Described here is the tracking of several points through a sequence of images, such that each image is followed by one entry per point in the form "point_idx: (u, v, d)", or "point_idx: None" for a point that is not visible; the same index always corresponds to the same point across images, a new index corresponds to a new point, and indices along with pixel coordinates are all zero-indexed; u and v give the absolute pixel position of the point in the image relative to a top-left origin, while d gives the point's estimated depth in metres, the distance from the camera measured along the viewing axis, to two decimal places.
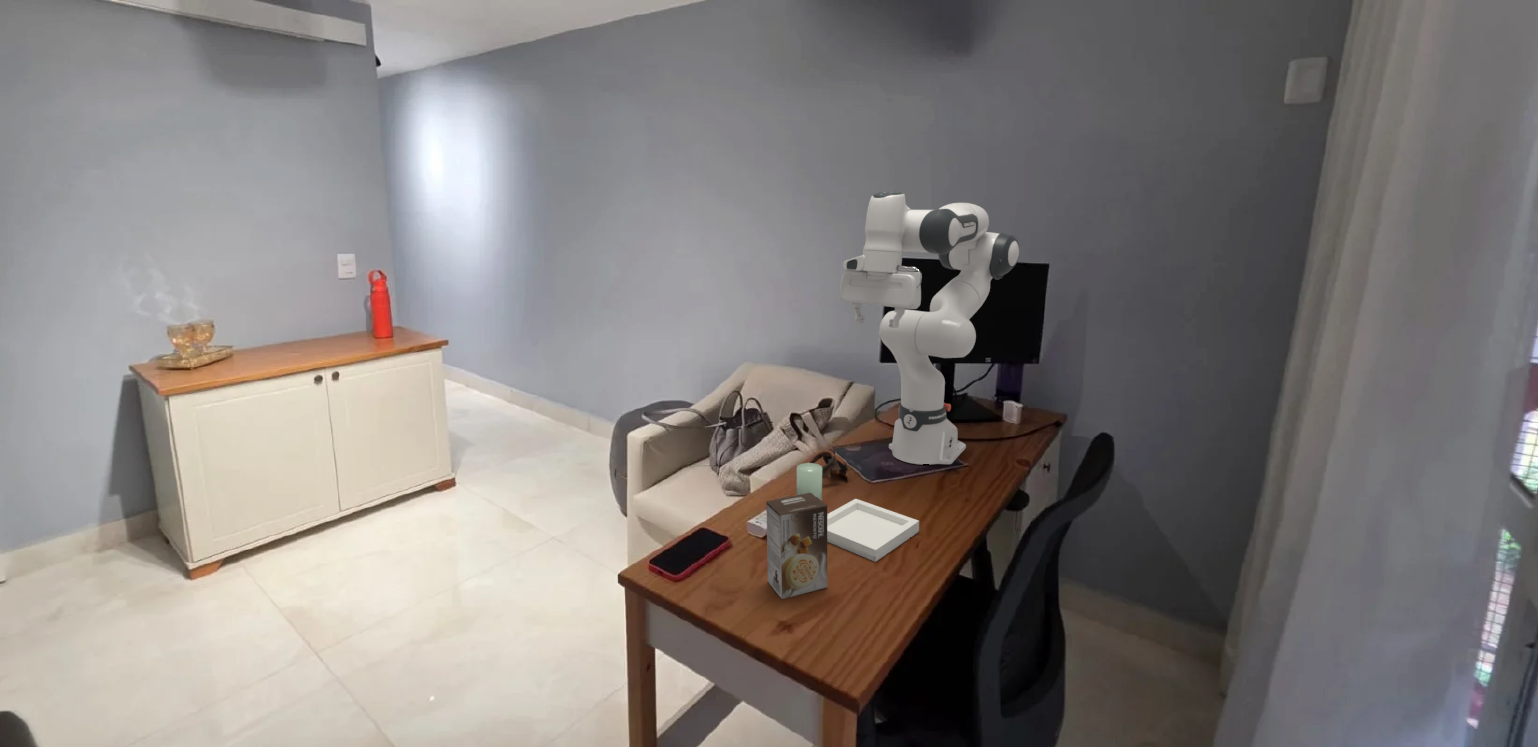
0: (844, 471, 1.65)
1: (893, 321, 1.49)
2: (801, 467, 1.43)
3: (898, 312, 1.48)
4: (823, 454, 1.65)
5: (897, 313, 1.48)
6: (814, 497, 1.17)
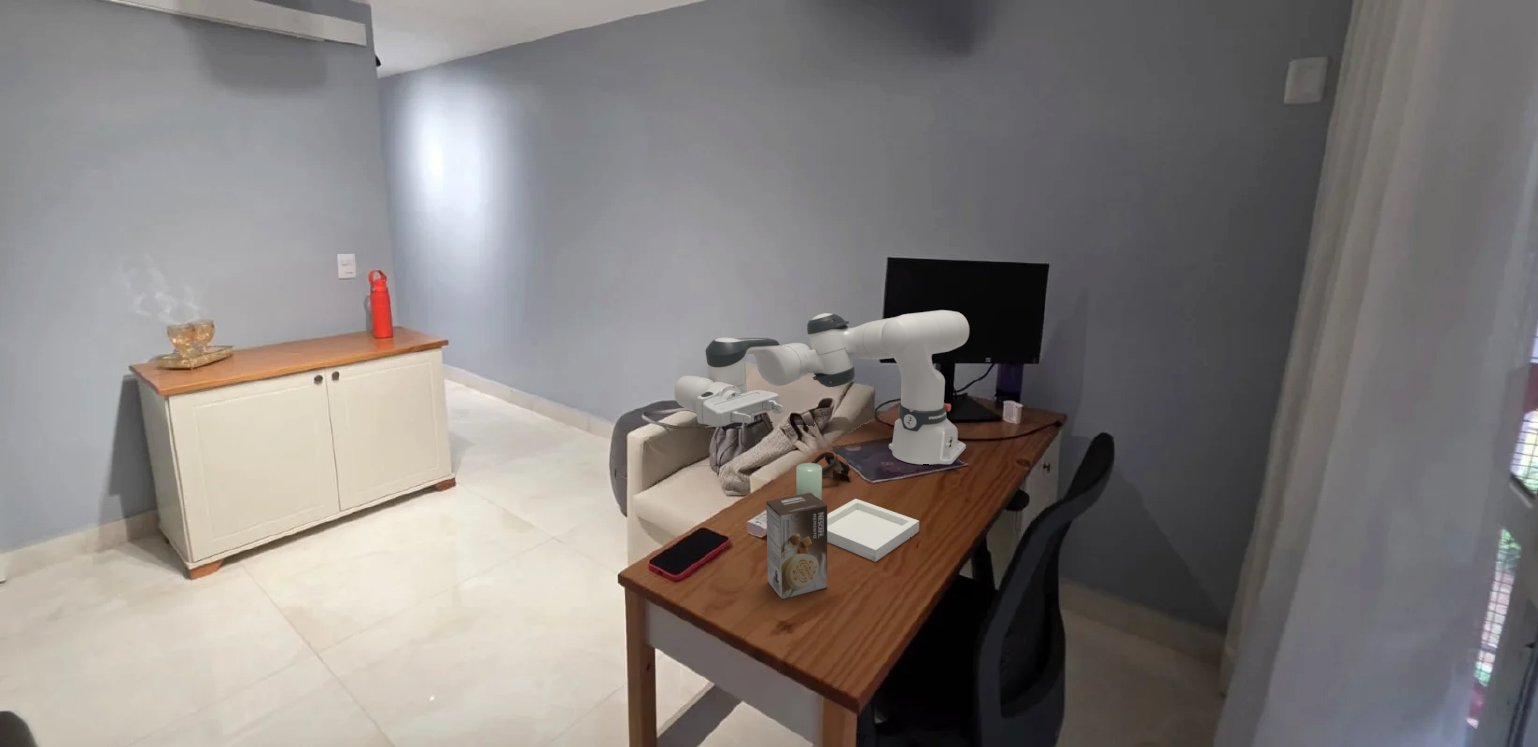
0: (846, 471, 1.65)
1: (776, 404, 1.54)
2: (801, 467, 1.43)
3: (773, 400, 1.56)
4: (825, 454, 1.64)
5: (773, 401, 1.56)
6: (814, 497, 1.17)
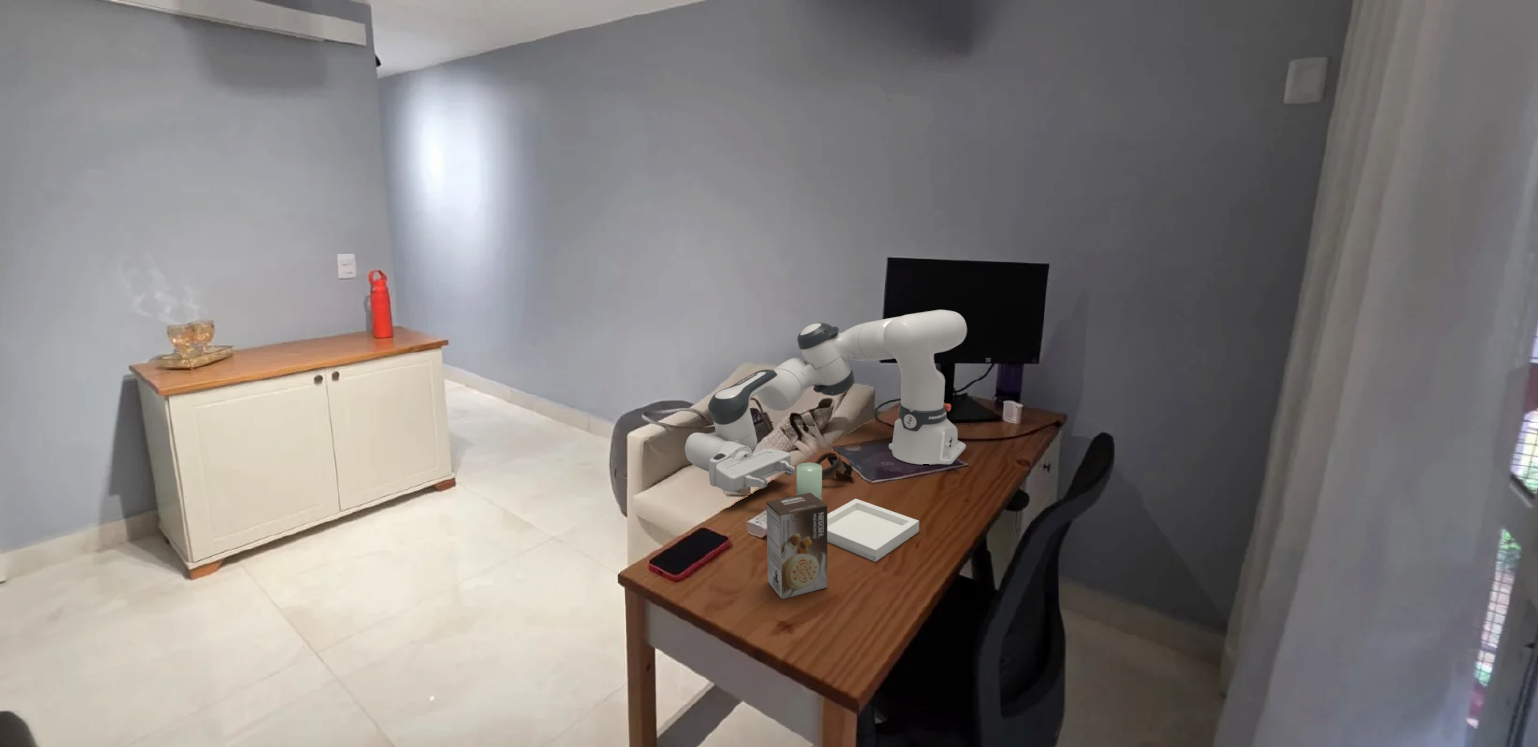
0: (849, 472, 1.65)
1: (789, 466, 1.54)
2: (801, 466, 1.44)
3: (785, 461, 1.56)
4: (828, 455, 1.64)
5: (785, 462, 1.56)
6: (814, 497, 1.17)
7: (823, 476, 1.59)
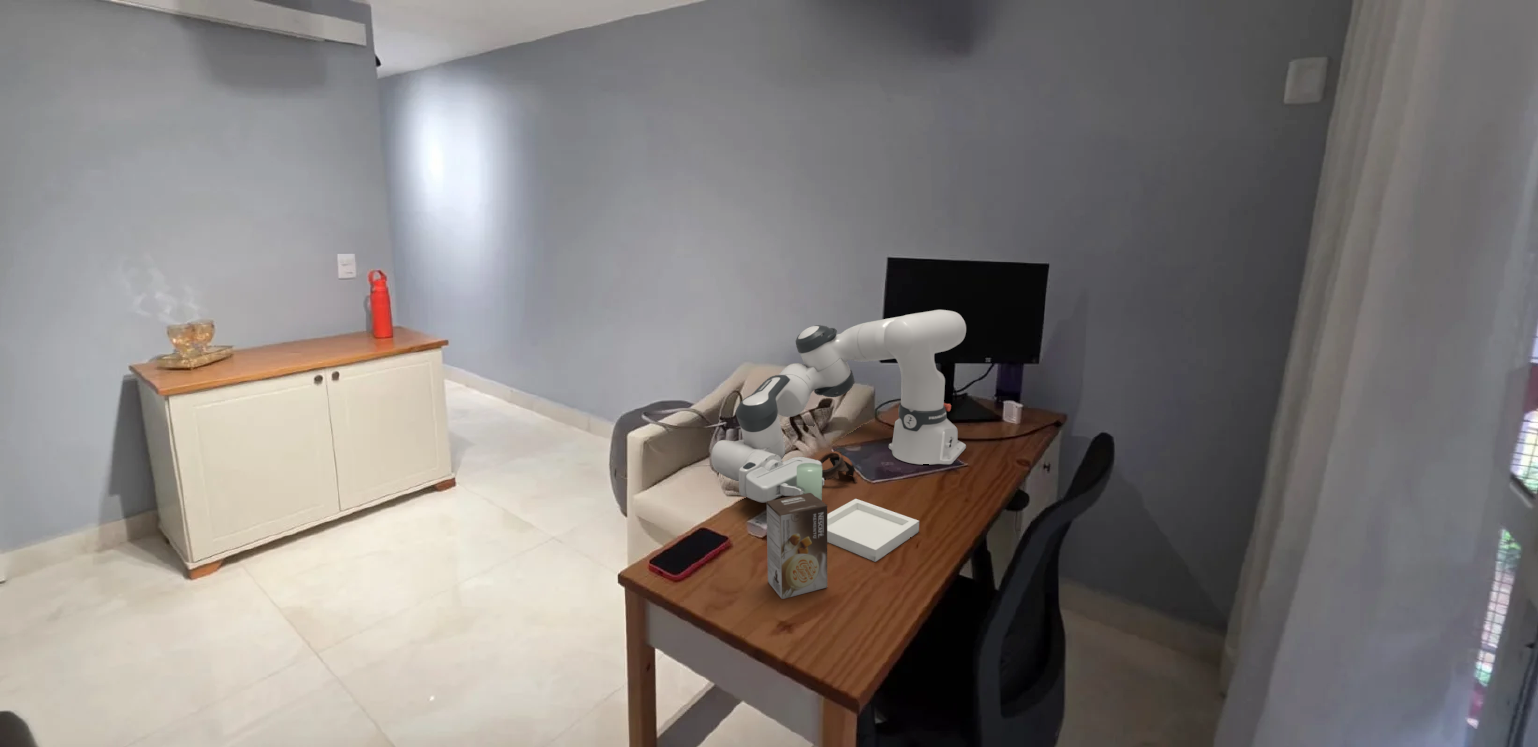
0: (851, 472, 1.65)
1: None
2: (801, 467, 1.43)
3: None
4: (830, 455, 1.64)
5: None
6: (814, 497, 1.17)
7: (825, 476, 1.59)
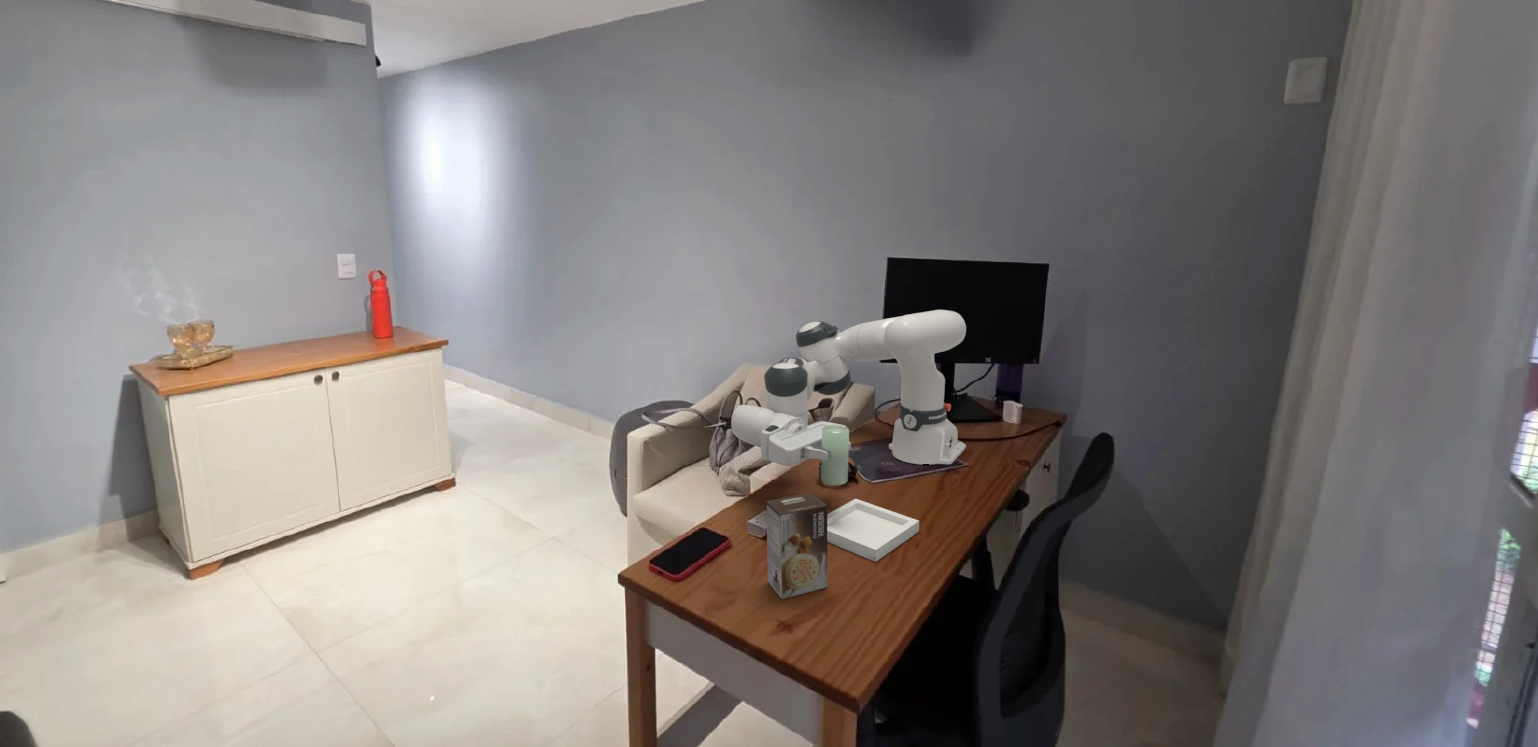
0: (853, 472, 1.65)
1: None
2: (827, 429, 1.36)
3: None
4: None
5: None
6: (814, 497, 1.17)
7: None
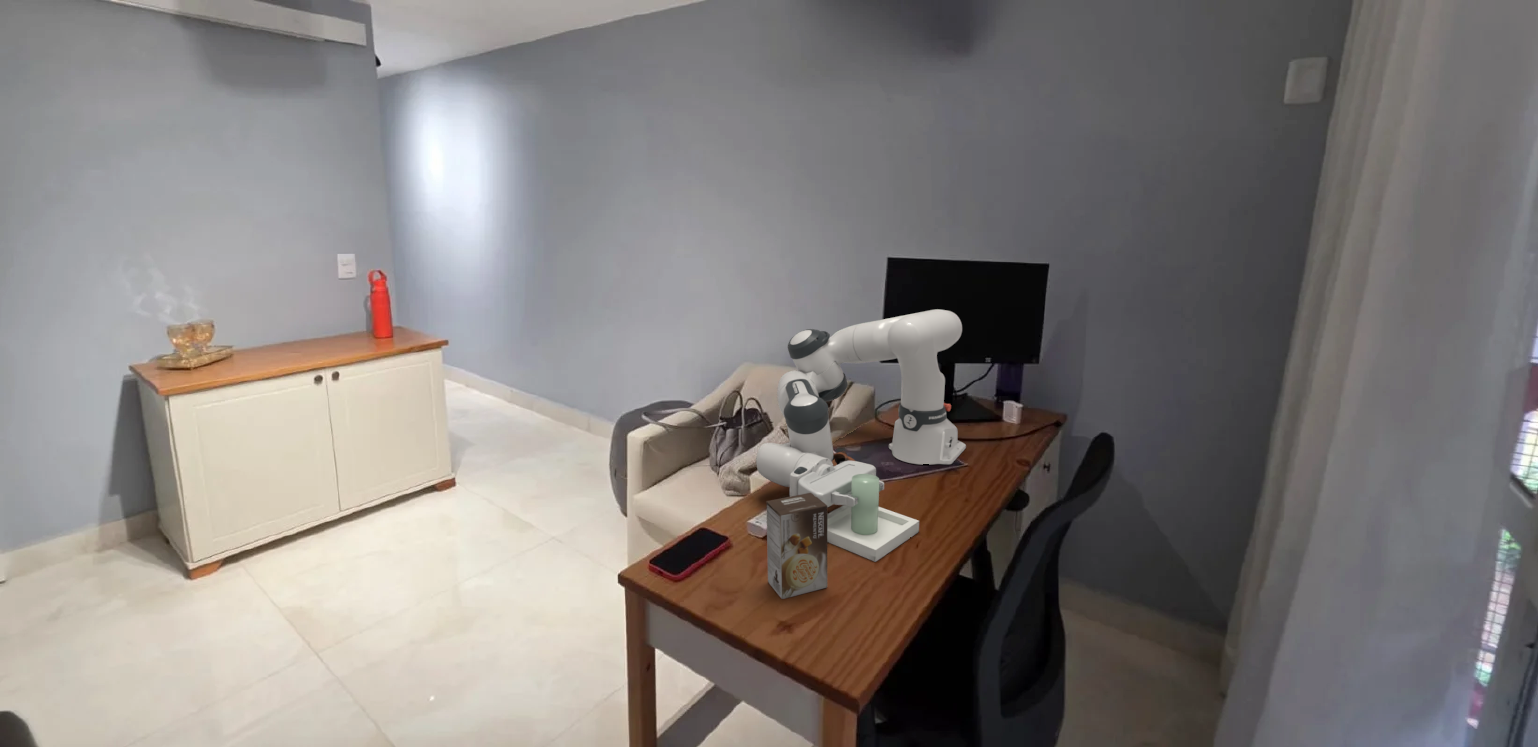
0: None
1: None
2: (856, 478, 1.35)
3: None
4: (835, 456, 1.63)
5: None
6: (814, 497, 1.17)
7: None
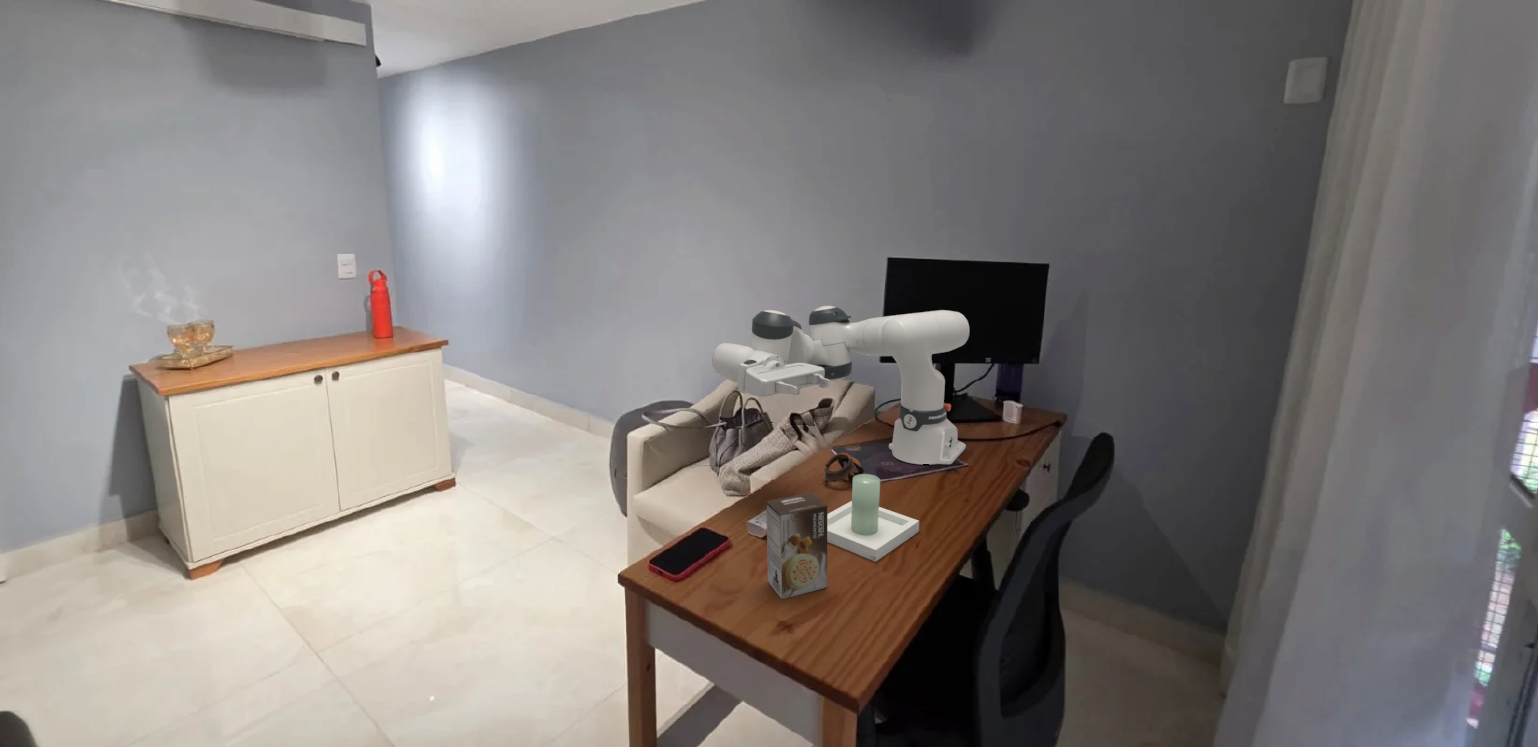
0: (860, 473, 1.64)
1: (823, 378, 1.44)
2: (857, 479, 1.35)
3: (819, 374, 1.46)
4: (839, 457, 1.63)
5: (819, 375, 1.46)
6: (814, 497, 1.17)
7: (835, 478, 1.58)
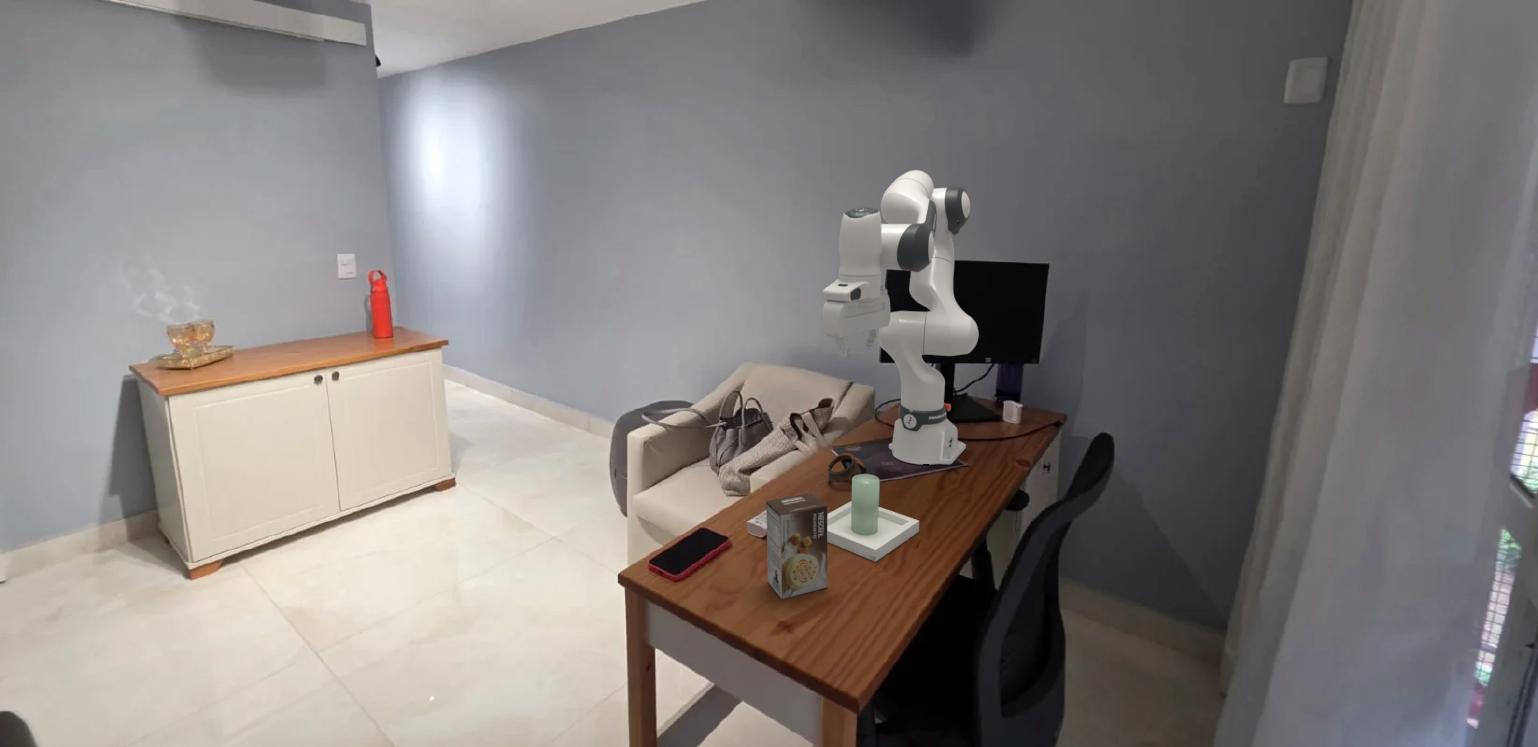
0: None
1: (874, 342, 1.45)
2: (857, 479, 1.35)
3: (878, 332, 1.45)
4: (842, 457, 1.63)
5: (877, 333, 1.45)
6: (814, 497, 1.17)
7: (838, 478, 1.58)
